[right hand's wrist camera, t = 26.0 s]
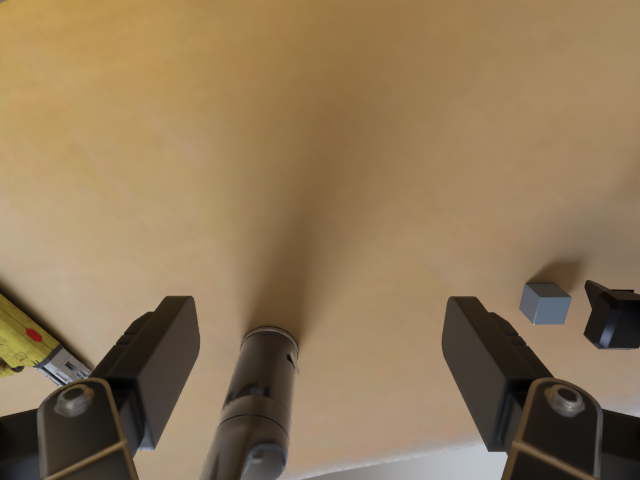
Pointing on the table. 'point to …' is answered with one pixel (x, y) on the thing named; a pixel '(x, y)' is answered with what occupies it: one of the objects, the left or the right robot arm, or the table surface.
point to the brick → (545, 303)
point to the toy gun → (34, 348)
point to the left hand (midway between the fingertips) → (622, 283)
